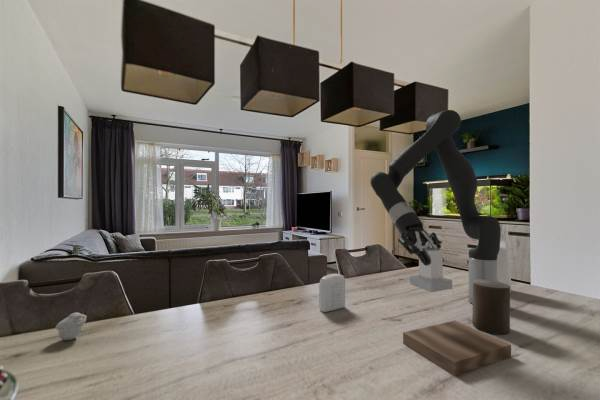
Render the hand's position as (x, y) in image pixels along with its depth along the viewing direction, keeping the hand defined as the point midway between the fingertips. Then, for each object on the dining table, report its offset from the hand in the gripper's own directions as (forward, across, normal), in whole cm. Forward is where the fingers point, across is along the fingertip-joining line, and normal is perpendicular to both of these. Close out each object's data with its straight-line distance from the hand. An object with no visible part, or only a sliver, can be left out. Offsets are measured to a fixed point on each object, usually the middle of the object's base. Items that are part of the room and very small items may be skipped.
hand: (434, 263), depth 85 cm
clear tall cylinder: (0, +58, +31) cm, 65 cm away
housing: (+4, 0, +6) cm, 7 cm away
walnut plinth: (+21, -2, +9) cm, 23 cm away
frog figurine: (-11, -97, +41) cm, 106 cm away
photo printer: (-6, -18, +36) cm, 40 cm away
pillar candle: (+17, +20, +13) cm, 29 cm away
